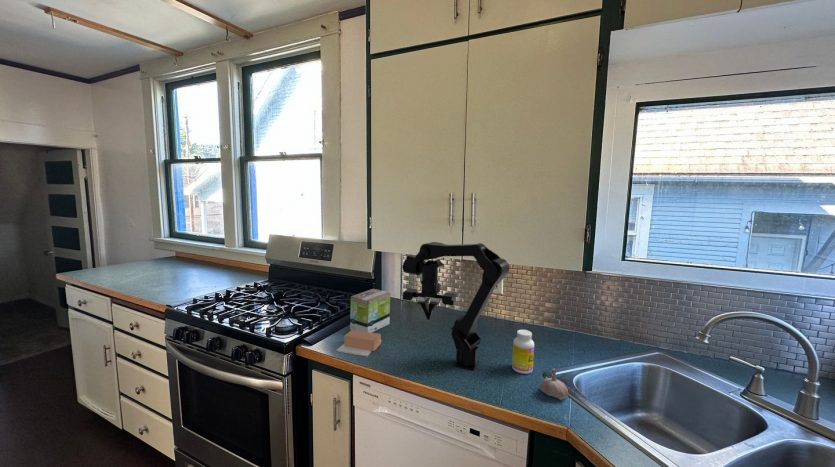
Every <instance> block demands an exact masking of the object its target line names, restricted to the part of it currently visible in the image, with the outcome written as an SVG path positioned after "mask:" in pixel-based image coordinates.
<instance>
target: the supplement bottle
mask: <svg viewBox="0 0 835 467" xmlns="http://www.w3.org/2000/svg"><path fill="white" fill-rule="evenodd" d="M532 338H533V333H532V332H531V331H530V330H527V329H518V330H517V332H516V337H515V338H514V339H513V343H512V359H511V366H512V370H513V371H515V372H516V373H519V374H525V375H527V374H531V373H532V372H533V368H534V357H535V342H534V341H533V339H532Z"/></svg>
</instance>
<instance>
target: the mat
mask: <svg viewBox="0 0 835 467" xmlns="http://www.w3.org/2000/svg"><path fill="white" fill-rule="evenodd" d="M381 342H382V339H381ZM336 352H339V353H345V354H349V355H356V356H361V357H366V358H367V357H368V356H369V355H370V354H371V353H372V352H373V351H370V350H364V349H358V348H352V347H346V346H344V343H343V344H342V345H341V346H339V347H338V348H337V349H336Z"/></svg>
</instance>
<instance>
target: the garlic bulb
mask: <svg viewBox="0 0 835 467" xmlns="http://www.w3.org/2000/svg"><path fill="white" fill-rule="evenodd" d="M556 373H557V372H556V368H552V370H551V374H552V375H551V377H546V378H543V379H542V381H541V383H539V384H540V385H539V388H540V391H541V392H543V393H544V394H545V395H547V396H549V397H554V398H556V399H558V400H561V401H562V400H564V399H566V398H567V397H568V396H569V390H568V387H567V386H566V384H565V383H564V381H563V382H562V381H561V380H560V379H557V374H556Z"/></svg>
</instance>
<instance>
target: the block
mask: <svg viewBox="0 0 835 467" xmlns="http://www.w3.org/2000/svg"><path fill="white" fill-rule="evenodd" d="M381 334H382V333H376V332H372V333H371V332H364V331H358V330H349V332H347V333H345V335H344V337H343V340H344V341H343V342H344V343H343V344H344V346H346V347H352V348H358V349H364V350H370V351H372V352H375V351H376V350H377V348H378V347H380V345H381V342H382V341H381V340H382V338H381Z"/></svg>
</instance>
